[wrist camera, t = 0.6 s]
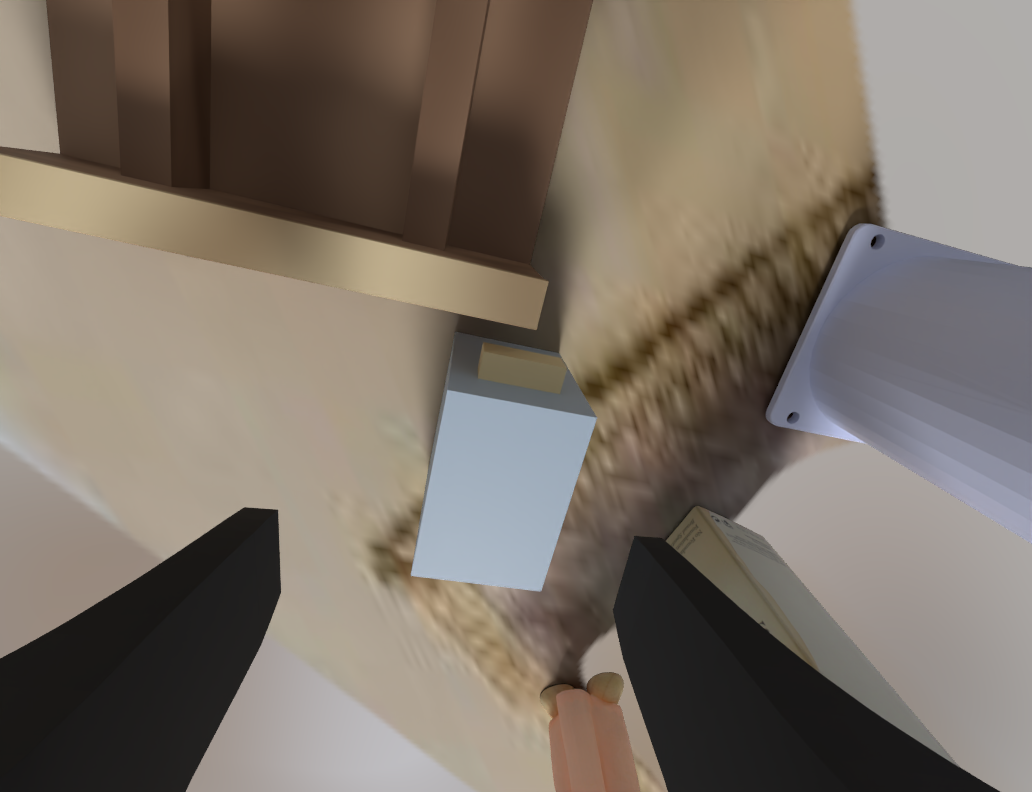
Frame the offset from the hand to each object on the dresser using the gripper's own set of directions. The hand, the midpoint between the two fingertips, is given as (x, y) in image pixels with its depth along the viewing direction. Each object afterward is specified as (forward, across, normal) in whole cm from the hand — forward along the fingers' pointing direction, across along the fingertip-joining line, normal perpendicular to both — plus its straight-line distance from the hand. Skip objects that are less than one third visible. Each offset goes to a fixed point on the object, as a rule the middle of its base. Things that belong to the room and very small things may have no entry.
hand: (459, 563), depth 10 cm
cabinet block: (+10, -1, +1) cm, 10 cm away
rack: (+9, +5, -10) cm, 14 cm away
